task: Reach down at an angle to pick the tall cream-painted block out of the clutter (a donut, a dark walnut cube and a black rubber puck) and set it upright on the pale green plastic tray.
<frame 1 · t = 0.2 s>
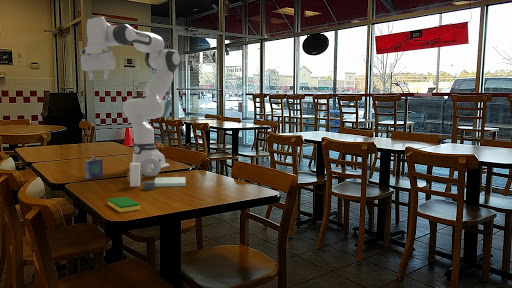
hand: (98, 79, 200), 48 cm above the table, tool pointing down, fingers open, 8 cm apart
walnut cube: (135, 181, 195), on the table
flask: (94, 178, 202), on the table
dish sponge: (123, 208, 149), on the table
donut: (150, 177, 207), on the table
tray: (170, 183, 191), on the table
tall block: (135, 185, 185), on the table
rubber puck: (149, 189, 179), on the table
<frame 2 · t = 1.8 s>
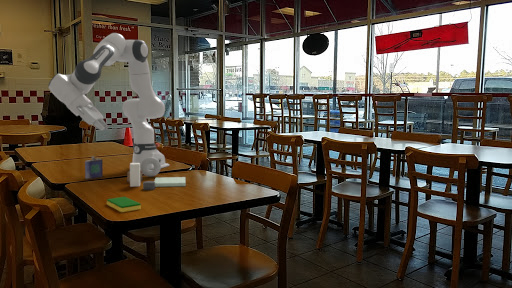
hand: (105, 128, 181), 26 cm above the table, tool tilted 45°, fingers open, 8 cm apart
nothing on the table moved.
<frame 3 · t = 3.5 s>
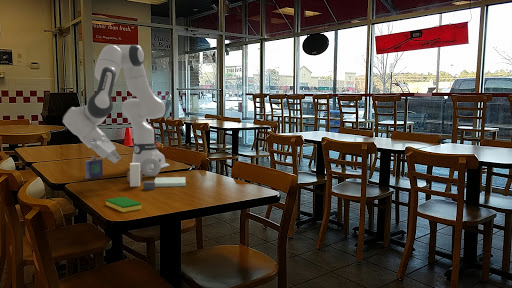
hand: (118, 160, 183), 11 cm above the table, tool tilted 45°, fingers open, 8 cm apart
nothing on the table moved.
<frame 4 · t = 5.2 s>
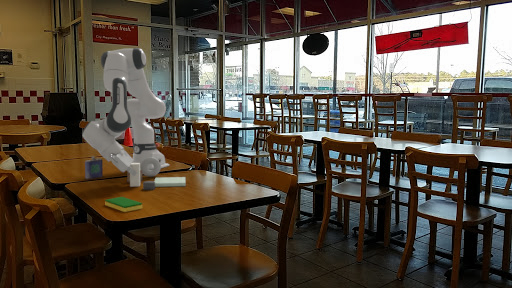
hand: (136, 173, 185), 5 cm above the table, tool tilted 45°, fingers closed on tall block, 4 cm apart
tall block: (135, 185, 185), on the table, touching gripper
everything else where it was.
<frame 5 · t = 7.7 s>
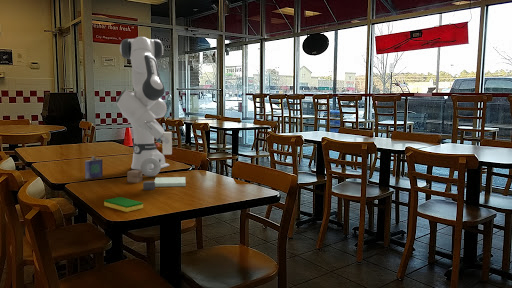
hand: (168, 142, 189), 19 cm above the table, tool tilted 45°, fingers closed on tall block, 4 cm apart
tall block: (167, 153, 190), point 14 cm above the table, touching gripper
when the fingers open (8 cm above the table, at t = 10.4 s): tall block stays where it is, resting on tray.
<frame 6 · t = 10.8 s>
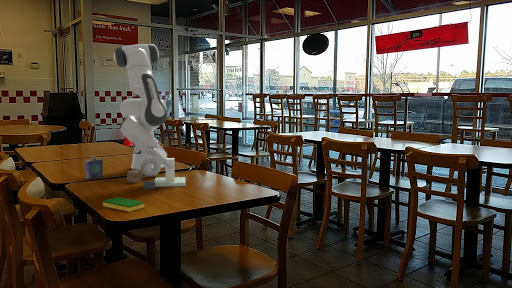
hand: (171, 166, 191), 8 cm above the table, tool tilted 45°, fingers open, 8 cm apart
tall block: (170, 180, 191), point 1 cm above the table, touching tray
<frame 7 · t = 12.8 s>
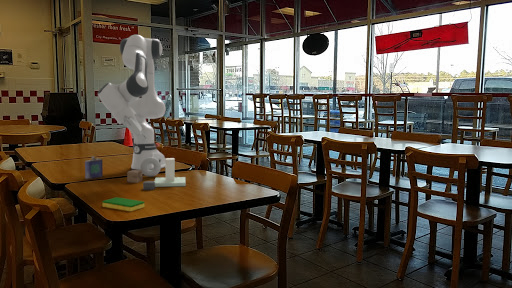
hand: (144, 140, 189), 20 cm above the table, tool tilted 35°, fingers open, 8 cm apart
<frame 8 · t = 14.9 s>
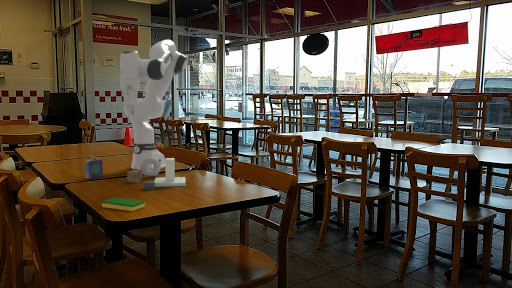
hand: (130, 115, 194), 31 cm above the table, tool pointing down, fingers open, 8 cm apart
at the end: tall block inside the target area on the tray (0.1 cm from its centre), point 1.5 cm above the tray's base; tall block tilted 0°; the gripper is holding nothing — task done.
